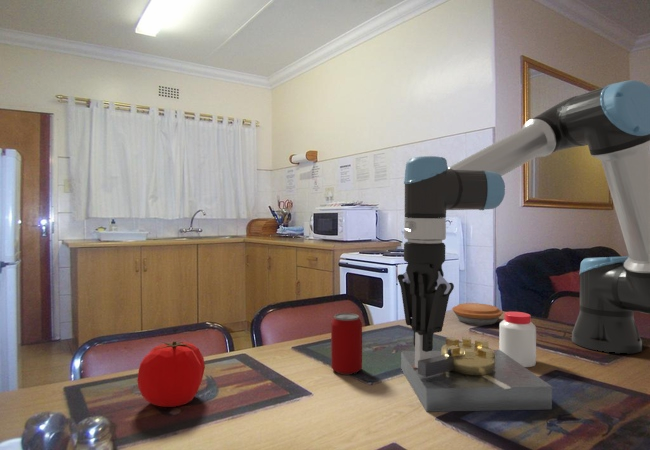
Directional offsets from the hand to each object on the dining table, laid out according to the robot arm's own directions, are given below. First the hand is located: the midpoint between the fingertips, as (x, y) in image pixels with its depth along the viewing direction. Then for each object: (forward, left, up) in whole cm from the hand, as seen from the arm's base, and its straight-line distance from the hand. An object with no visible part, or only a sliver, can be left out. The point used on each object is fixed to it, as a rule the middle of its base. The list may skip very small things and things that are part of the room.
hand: (422, 366), depth 78 cm
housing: (-10, -3, -5) cm, 12 cm away
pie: (-33, -55, -6) cm, 65 cm away
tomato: (+46, +1, -6) cm, 46 cm away
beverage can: (+13, -13, -6) cm, 20 cm away
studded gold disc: (-7, -2, -1) cm, 7 cm away
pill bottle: (-27, -17, -6) cm, 33 cm away
